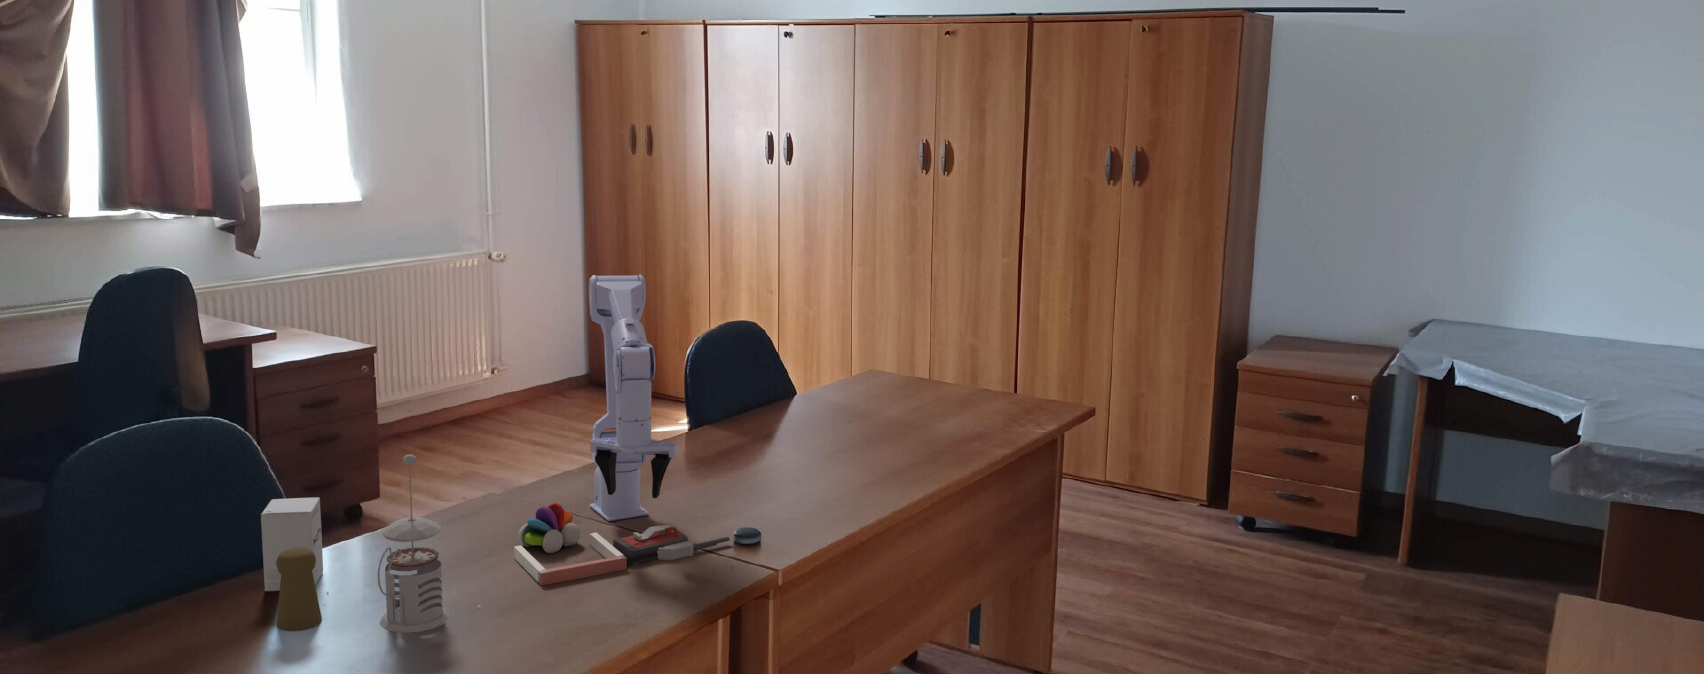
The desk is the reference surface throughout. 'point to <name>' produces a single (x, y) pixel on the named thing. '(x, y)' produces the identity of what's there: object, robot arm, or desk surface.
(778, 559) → the desk surface
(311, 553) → the cork
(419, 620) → the french press
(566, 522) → the colorful petals pebble cluster
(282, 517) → the supplement box
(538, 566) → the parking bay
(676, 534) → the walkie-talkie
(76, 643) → the desk surface
